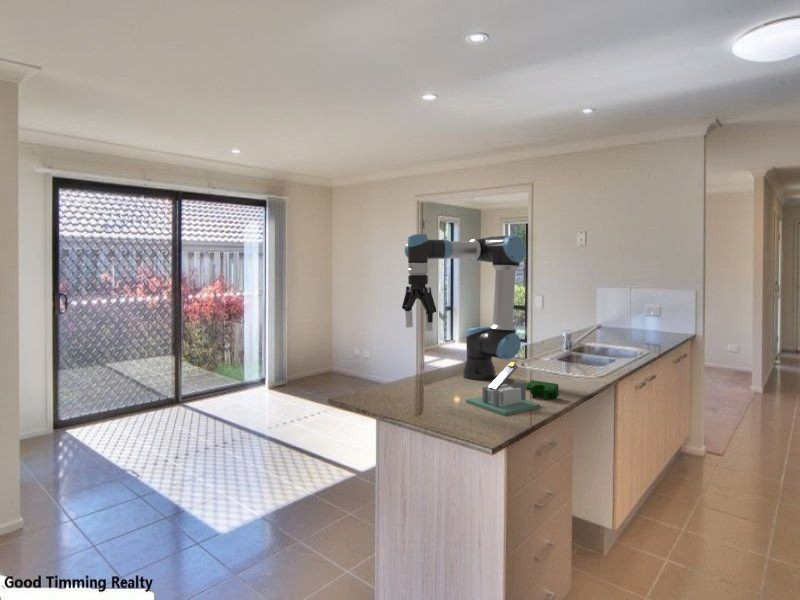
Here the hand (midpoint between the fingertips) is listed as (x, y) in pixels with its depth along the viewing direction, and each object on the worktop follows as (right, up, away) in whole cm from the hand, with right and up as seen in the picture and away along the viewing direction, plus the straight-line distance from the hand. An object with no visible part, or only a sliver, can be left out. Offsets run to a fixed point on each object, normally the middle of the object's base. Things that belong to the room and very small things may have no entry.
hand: (418, 329), depth 195 cm
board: (+31, -28, -9) cm, 42 cm away
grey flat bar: (+31, -17, -9) cm, 37 cm away
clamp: (+48, -27, +1) cm, 55 cm away
